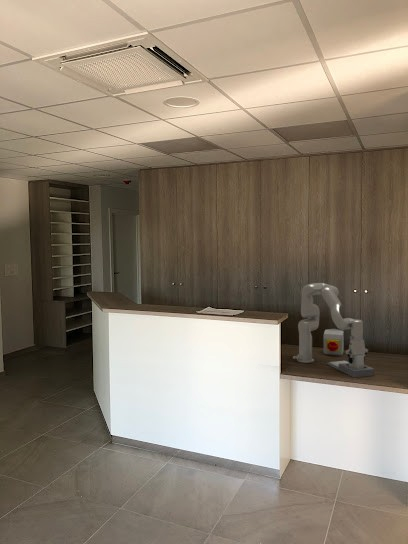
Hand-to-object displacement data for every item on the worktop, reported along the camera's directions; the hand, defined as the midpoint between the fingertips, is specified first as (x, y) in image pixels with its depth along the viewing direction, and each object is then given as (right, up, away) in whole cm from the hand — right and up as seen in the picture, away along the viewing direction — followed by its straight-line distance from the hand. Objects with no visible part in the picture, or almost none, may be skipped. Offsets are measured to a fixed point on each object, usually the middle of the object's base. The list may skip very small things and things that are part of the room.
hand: (356, 362), depth 311 cm
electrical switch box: (-2, -4, +50) cm, 50 cm away
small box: (0, -8, +1) cm, 8 cm away
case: (-2, -7, +8) cm, 11 cm away
